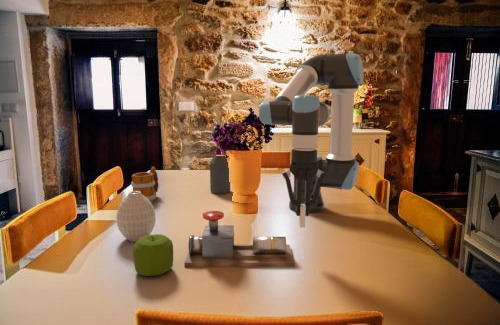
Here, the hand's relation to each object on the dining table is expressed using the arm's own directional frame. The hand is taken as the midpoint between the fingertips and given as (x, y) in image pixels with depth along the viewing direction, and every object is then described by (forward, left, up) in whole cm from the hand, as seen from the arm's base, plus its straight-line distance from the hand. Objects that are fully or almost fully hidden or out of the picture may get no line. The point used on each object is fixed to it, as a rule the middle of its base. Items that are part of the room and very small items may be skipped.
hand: (301, 225), depth 111 cm
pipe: (+10, 0, -9) cm, 13 cm away
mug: (+64, -62, -11) cm, 90 cm away
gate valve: (+28, 0, -9) cm, 29 cm away
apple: (+43, +9, -11) cm, 45 cm away
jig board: (+19, 0, -10) cm, 21 cm away
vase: (+55, -15, -11) cm, 58 cm away
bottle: (+31, -76, -11) cm, 83 cm away
